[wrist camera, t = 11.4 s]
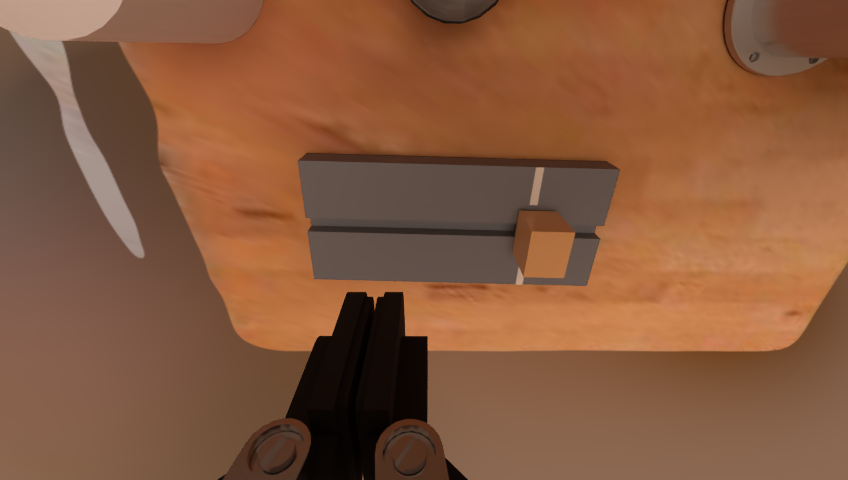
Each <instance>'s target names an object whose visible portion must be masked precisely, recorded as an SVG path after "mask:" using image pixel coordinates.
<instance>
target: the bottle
mask: <svg viewBox="0 0 848 480" xmlns="http://www.w3.org/2000/svg"><path fill="white" fill-rule="evenodd" d="M262 4H263V0H0V27H3V28H5V29H7V30H10V31H12V32H15V33H17V34H20V35H23V36H28V37H32V38H37V39H41V40H66V41H67V40H68V41H114V42H164V43H215V44H221V43H226V42H230V41H233V40H235V39H237V38H239V37H241V36H242V35H244V34H245V33H246V32H247V31H248V30H249V29H250V28H251V27H252V25H253V24H254V23H255V21H256V20H257V18H258V15H259V13H260V10H261V8H262Z"/></svg>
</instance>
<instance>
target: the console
mask: <svg viewBox="0 0 848 480" xmlns="http://www.w3.org/2000/svg"><path fill="white" fill-rule="evenodd" d="M298 165H299V172H300V179H301V186H302V194H303V201H304V208H305V215H306V218H311V224H312V226H311V227H310V229H309V230H308V237H309V244H310V251H311V259H312V266H313V273H314V279H334V280H374V281H414V282H454V283H494V284H516V285H522V284H534V285H574V286H587V283H588V279H589V276H590V272H591V269H592V265H593V262H594V258H595V255H596V251H597V248H598V245H599V241H600V238H599V237H598V236H597V235H596V234H595V233H594V232H595V229H596V226H604V224H605V220H606V217H607V213H608V210H609V206H610V203H611V199H612V196H613V193H614V189H615V186H616V182H617V179H618V175H619V172H620V169H618V168H617V167H615V166H613V165H612V164H610V163H608V162H605V161H569V160H533V159H498V158H462V157H427V156H391V155H355V154H320V153H307V154H305V155H304V156H303V157H302V158H300V159H299V160H298ZM519 210H524V211H558V213H559V214H560V215H561V216H562V217H563V219H564V220H565V221H566V222H567V223H568V224H569V226H570V227H571V228H572V229H573V230H574V232H575V236H574V240H573V244H572V248H571V252H570V256H569V260H568V264H567V268H566V272H565V276H564V278H536V277H523V275H522V273H521V271H520V268H519V266H518V264H517V261H516V259H515V257H514V255H513V252H512V251H513V245H514V239H515V233H516V227H517V221H518V215H519Z"/></svg>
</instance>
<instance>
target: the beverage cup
mask: <svg viewBox="0 0 848 480" xmlns="http://www.w3.org/2000/svg"><path fill="white" fill-rule="evenodd" d="M498 1H499V0H411V2H412V3H413V4H414V5H415V6H416V7H417V8H418V9H420V10H421V11H422V12H423V13H424V14H425V15H426V16H428V17H430V18H433V19H435V20H437V21H440V22H442V23H458V24H462V23H465V22H468V21H471V20H474V19H477V18H480V17H481V16H482V15H483V14H485V13H486V12H487V11H489V10H490V9H491V8H492V7H494V6H495V5H496V4H497V2H498Z"/></svg>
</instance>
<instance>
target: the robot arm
mask: <svg viewBox="0 0 848 480" xmlns="http://www.w3.org/2000/svg"><path fill="white" fill-rule="evenodd" d="M724 31H725V39H726V44H727V47H728V49H729V52H730V54H731V56H732V57H733V58H734V60H735V61H736V63H737V64H739V65H740V66H741V67H742V68H744V69H745V70H747V71H749V72H752V73H754V74H757V75H764V76H786V75H792V74H797V73H800V72H802V71H805V70H808V69H811V68H813V67H815V66H817V65H818V64H820V63H822V62H824V61H826V60H827V59H829V58H848V0H728V4H727V9H726V13H725V25H724ZM427 357H428V349H427V336H405V318H404V296H403V292H385V294H384V297H378V298H377V303H376V307H375V310H374V300H373V297H367V293H366V292H348V293H347V294H346V297H345V300H344V303H343V305H342V308H341V311H340V314H339V317H338V320H337V323H336V326H335V329H334V331H333V334H332V336H319V337H318V338H317V340H316V342H315V344H314V347H313V349H312V352H311V354H310V357H309V359H308V362H307V364H306V367H305V369H304V372H303V375H302V377H301V380H300V382H299V385H298V387H297V390H296V392H295V395H294V397H293V400H292V402H291V405H290V407H289V410H288V412H287V415H286V418H282V419H278V420H275V421H272V422H270V423H268V424H266V425H264V426H262V427H261V428H260V429H259V430H257V431H256V432H255V433H253V434H252V436H251V437H250V438H249V439H248V441H247V442H246V443H245V445H244V446H243V448H242V449H241V451H240V453H239V454H238V456H237V457H236V459H235V461H234V462H233V464H232V465H231V467H230V469H229V470H228V472H227V473H226V474H225V475H224V476H222V477H221V478H219V479H218V480H362V475H363V477H364V480H468V479H467V478H465V477H464V476H463V475H462V474H461V473H460V472H459V471H458V470H457V469H456V468H455V467H454V466H453V465H452V464H451V463H450V462H449V461H448V460H447V459H446V458H445V455H444V450H443V445H442V442H441V439H440V436H439V435H438V433H437V432H436V431H435V429H434V428H433V427H431V426H430V425H429V424H427V388H428V387H427V386H428V385H427V384H428V383H427V381H428V379H427V378H428V374H427V373H428V370H427V369H428V367H427V366H428V360H427V359H428V358H427Z"/></svg>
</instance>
